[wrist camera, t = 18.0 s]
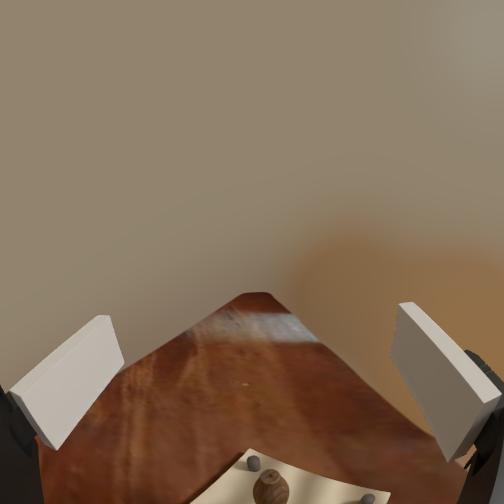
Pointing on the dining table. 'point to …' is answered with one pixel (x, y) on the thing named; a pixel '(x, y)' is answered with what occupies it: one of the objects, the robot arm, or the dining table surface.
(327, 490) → the board
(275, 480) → the hand bell
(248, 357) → the dining table surface
